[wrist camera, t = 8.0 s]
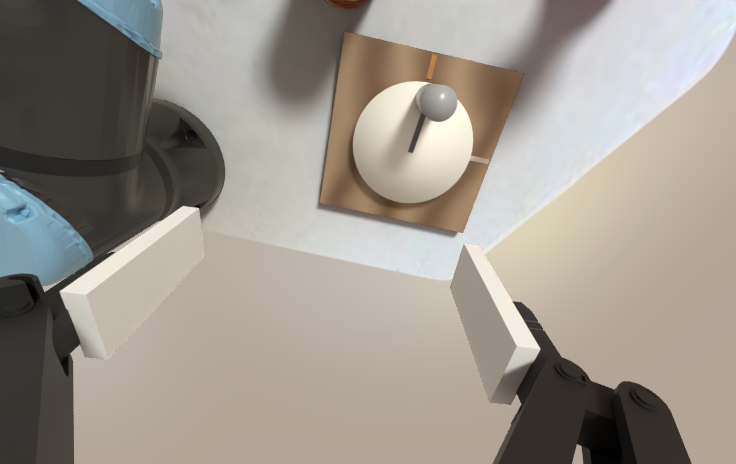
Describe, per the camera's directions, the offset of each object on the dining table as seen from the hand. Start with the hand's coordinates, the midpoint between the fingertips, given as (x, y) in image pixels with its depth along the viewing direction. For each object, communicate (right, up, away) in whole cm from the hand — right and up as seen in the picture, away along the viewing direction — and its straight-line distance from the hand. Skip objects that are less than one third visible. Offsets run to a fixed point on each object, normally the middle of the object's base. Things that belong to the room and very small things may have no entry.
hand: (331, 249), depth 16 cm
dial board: (+7, +12, +24) cm, 28 cm away
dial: (+7, +11, +22) cm, 26 cm away
